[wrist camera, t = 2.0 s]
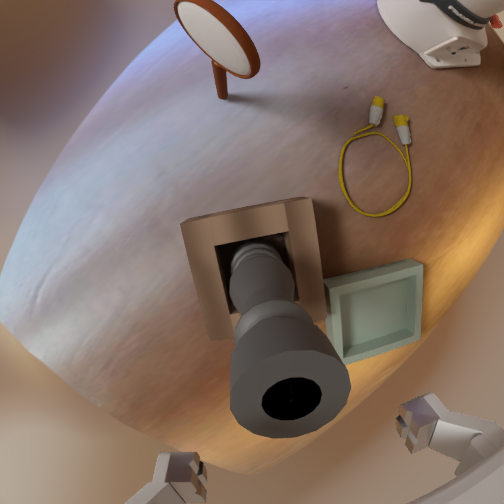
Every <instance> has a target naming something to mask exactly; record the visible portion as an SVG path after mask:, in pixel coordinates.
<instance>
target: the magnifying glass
mask: <svg viewBox="0 0 504 504" xmlns="http://www.w3.org/2000/svg"><path fill="white" fill-rule="evenodd" d="M174 11H175V14H176V17H177V19H178V21H179V22H180V24H181V26H182V27H183V29H184V30H185V31H186V33H187V34H188V35H189V37H190V38H191V39H192V40H193V41H194V42H195V43H196V45H197V46H198V47H199V48H200V49H201V50H202V51H203V52H204V53H205V54H206V55H207V56H209V57H210V58H211V59H212V67H213V73H214V78H215V83H216V89H217V94H218V97H219V98H220V99H225V98H227V96H228V91H227V77H226V71H228V72H229V73H231V74H233V75H235V76H237V77H239V78H243V79H249V78H252V77H254V76H255V75H256V74H257V73H258V72H259V69H260V58H259V55H258V52H257V49H256V47H255V45H254V43H253V42H252V40H251V38H250V37H249V35H248V34H247V32H246V31H245V30H244V28H243V27H242V26H241V25H240V24H239V22H238V21H237V20H236V19H235V18H234V17H233V16H232V15H231V14H230V13H229V12H227V11H226V10H225V9H224V8H223V7H221V6H220V5H219V4H217V3H216V2H214V1H212V0H176V1H175V3H174Z"/></svg>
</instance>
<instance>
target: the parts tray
mask: <svg viewBox="0 0 504 504" xmlns="http://www.w3.org/2000/svg"><path fill="white" fill-rule="evenodd" d="M323 283H324V292H325V301H326V311H327V318H325V320H326V331H327V337H328V338H329V340H330V342H331V343H332V345H333V347H334V348H335V350H336V352H337V353H338V355H339V357H340V358H341V360H342V362H343V363H344V365H347V364H350V363H353V362H357V361H360V360H363V359H366V358H370V357H373V356H376V355H379V354H382V353H385V352H388V351H391V350H393V349H396V348H399V347H402V346H404V345H407V344H410V343H412V342H415V341H418V340H420V334H421V321H422V303H423V264H421V263H419V262H417V261H415V260H413V259H411V258H409V259H405V260H401V261H397V262H393V263H389V264H385V265H381V266H377V267H373V268H369V269H365V270H361V271H357V272H352V273H348V274H344V275H340V276H335V277H331V278H326V279H323Z"/></svg>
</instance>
